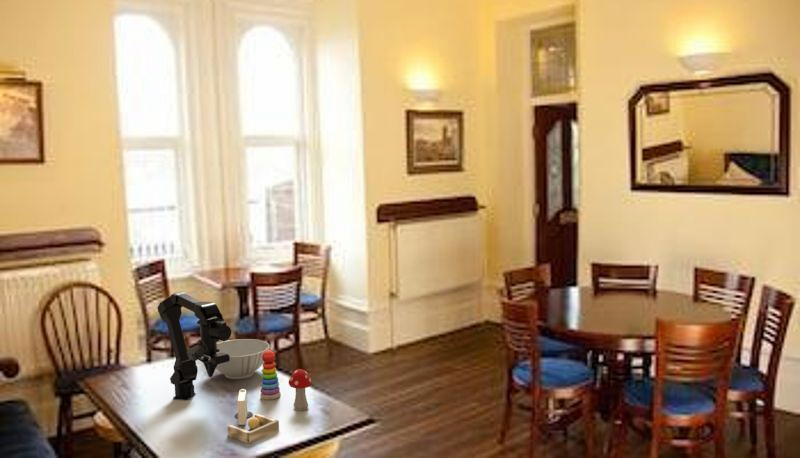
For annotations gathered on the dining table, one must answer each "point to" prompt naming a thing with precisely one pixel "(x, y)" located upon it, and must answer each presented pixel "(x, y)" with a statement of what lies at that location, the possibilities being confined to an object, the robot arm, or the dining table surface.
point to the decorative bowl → (242, 357)
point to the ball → (253, 423)
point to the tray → (255, 430)
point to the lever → (242, 407)
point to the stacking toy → (269, 377)
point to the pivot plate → (247, 414)
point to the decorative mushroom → (300, 388)
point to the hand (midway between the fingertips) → (210, 376)
